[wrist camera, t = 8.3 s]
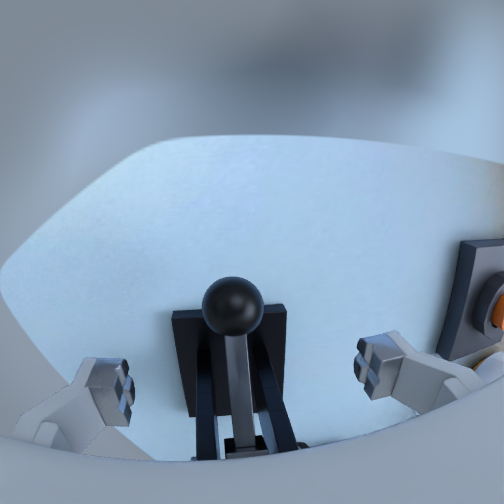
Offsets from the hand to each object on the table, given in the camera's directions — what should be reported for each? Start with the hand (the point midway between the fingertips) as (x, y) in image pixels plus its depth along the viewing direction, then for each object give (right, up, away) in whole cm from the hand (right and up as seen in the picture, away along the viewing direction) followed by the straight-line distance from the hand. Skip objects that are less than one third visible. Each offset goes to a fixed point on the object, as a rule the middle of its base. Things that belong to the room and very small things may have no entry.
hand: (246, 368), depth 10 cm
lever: (-1, -4, +6) cm, 7 cm away
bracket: (-1, -5, +13) cm, 14 cm away
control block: (+24, -1, +16) cm, 29 cm away
